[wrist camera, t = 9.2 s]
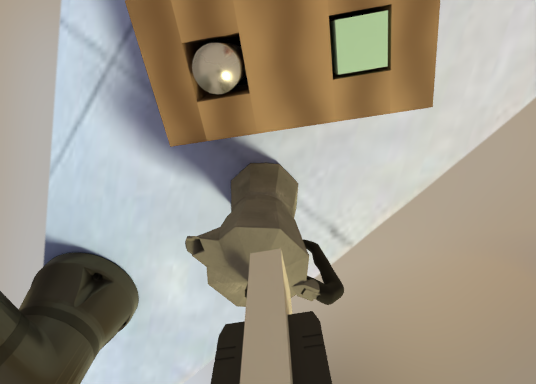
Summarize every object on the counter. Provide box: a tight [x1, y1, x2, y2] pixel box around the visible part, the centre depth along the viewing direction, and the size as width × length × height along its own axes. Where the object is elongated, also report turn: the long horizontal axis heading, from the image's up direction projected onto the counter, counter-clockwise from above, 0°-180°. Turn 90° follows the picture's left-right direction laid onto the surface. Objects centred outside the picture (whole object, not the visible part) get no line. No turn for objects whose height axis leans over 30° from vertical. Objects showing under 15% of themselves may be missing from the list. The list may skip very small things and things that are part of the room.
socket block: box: [125, 0, 440, 147], centre depth 29 cm, size 24×12×8 cm, turn 99°
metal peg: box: [192, 43, 246, 94], centre depth 29 cm, size 4×4×8 cm
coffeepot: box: [185, 163, 344, 307], centre depth 32 cm, size 15×9×18 cm, turn 66°
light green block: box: [329, 10, 388, 74], centre depth 28 cm, size 4×4×8 cm
